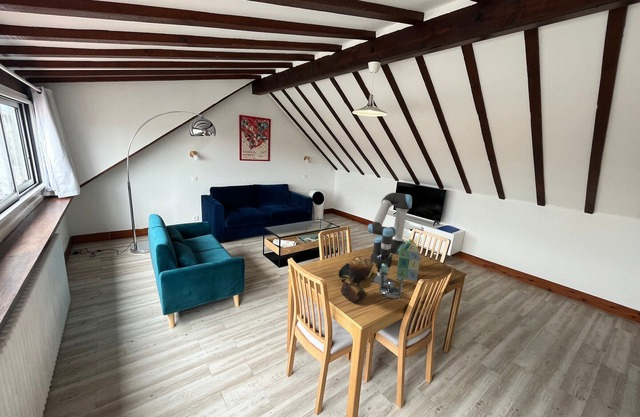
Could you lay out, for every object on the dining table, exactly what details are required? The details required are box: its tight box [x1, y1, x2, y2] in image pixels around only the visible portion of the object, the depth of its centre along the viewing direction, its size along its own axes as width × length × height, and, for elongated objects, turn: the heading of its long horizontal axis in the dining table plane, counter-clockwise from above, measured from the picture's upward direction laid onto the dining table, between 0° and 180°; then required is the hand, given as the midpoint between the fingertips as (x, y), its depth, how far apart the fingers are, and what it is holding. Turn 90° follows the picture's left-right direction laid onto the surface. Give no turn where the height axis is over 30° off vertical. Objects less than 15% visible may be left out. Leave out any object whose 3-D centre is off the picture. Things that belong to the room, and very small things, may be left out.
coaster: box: [370, 275, 394, 286], centre depth 221 cm, size 13×13×1 cm
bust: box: [340, 255, 374, 304], centre depth 195 cm, size 21×23×30 cm
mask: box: [337, 262, 375, 280], centre depth 225 cm, size 25×6×30 cm
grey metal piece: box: [379, 272, 404, 300], centre depth 202 cm, size 16×16×14 cm
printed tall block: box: [396, 238, 422, 282], centre depth 228 cm, size 17×16×30 cm
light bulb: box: [380, 263, 388, 277], centre depth 218 cm, size 11×7×7 cm, turn 1°
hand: (382, 274), depth 219 cm, fingers closed on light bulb, 7 cm apart
